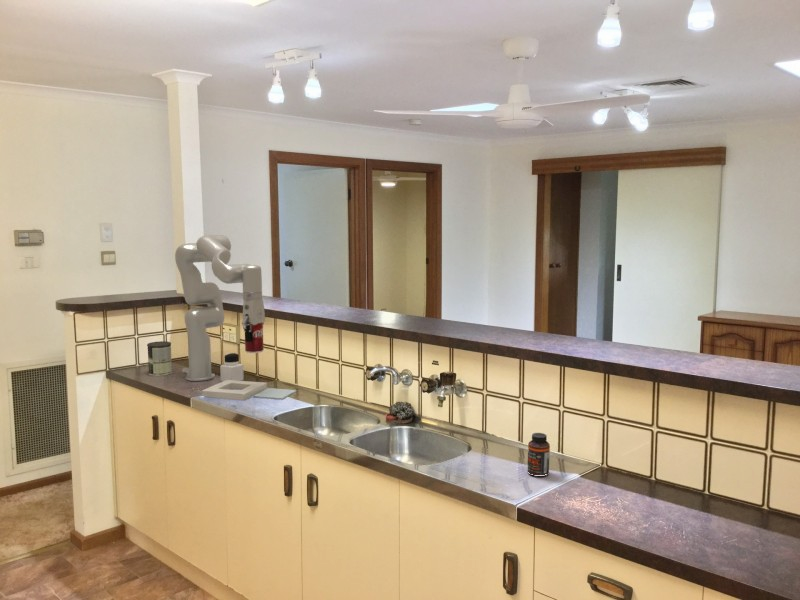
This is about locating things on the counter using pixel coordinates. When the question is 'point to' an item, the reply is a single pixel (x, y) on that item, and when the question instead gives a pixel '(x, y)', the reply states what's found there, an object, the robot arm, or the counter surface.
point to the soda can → (255, 339)
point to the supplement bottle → (538, 454)
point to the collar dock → (244, 393)
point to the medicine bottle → (232, 368)
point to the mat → (275, 393)
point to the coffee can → (159, 358)
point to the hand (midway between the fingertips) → (254, 339)
